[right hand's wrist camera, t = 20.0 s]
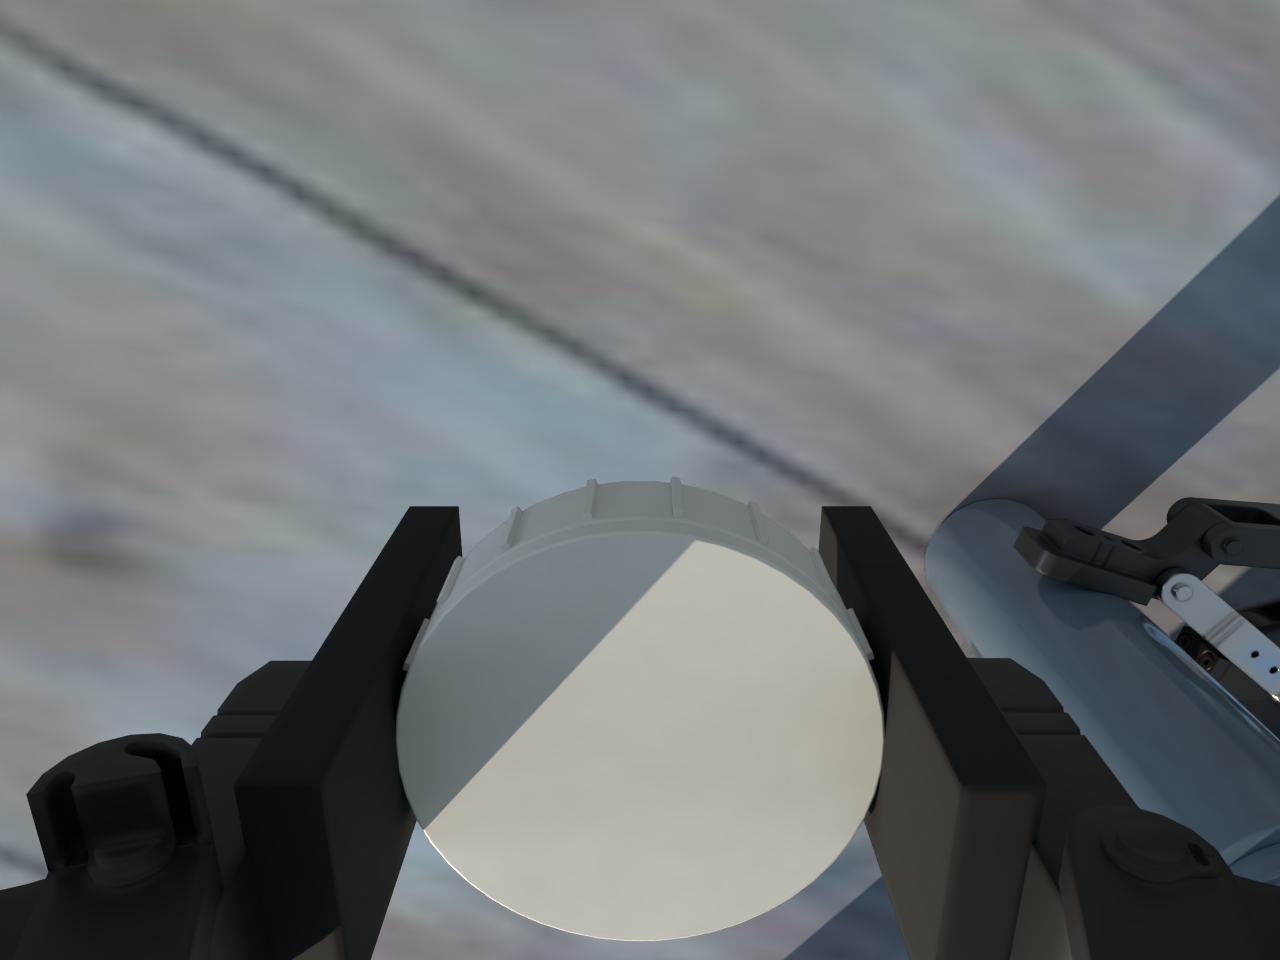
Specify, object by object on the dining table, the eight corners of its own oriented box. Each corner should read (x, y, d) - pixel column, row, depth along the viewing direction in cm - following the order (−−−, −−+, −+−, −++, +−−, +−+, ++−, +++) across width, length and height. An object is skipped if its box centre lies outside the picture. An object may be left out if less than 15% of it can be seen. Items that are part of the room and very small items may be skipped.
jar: (911, 521, 35) (1190, 912, 17) (1040, 481, 34) (1465, 842, 17) (939, 628, 37) (1220, 1085, 19) (1062, 592, 36) (1470, 1027, 18)
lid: (948, 693, 12) (991, 771, 11) (621, 917, 13) (619, 1015, 12) (663, 377, 11) (667, 415, 9) (328, 665, 12) (283, 740, 10)
